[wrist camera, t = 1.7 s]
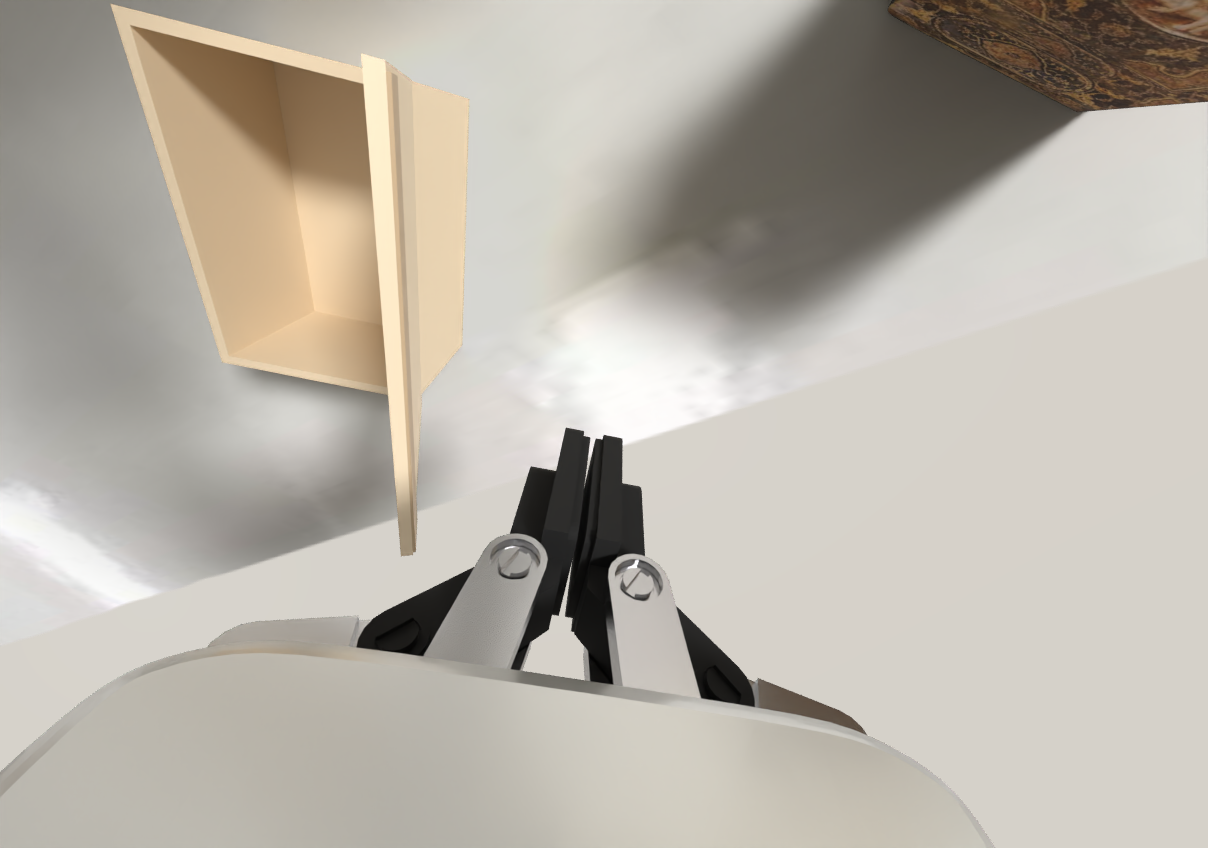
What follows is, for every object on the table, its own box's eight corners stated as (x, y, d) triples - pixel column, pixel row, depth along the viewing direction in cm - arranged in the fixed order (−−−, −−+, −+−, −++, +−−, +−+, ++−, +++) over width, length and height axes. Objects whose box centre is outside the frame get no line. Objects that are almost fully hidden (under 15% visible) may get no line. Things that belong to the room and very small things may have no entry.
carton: (267, 47, 27) (110, 3, 19) (469, 99, 28) (403, 78, 20) (312, 314, 37) (222, 362, 29) (462, 345, 38) (416, 400, 30)
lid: (360, 53, 10) (390, 61, 10) (400, 77, 20) (414, 80, 20) (401, 556, 20) (415, 554, 20) (413, 403, 29) (423, 403, 30)
